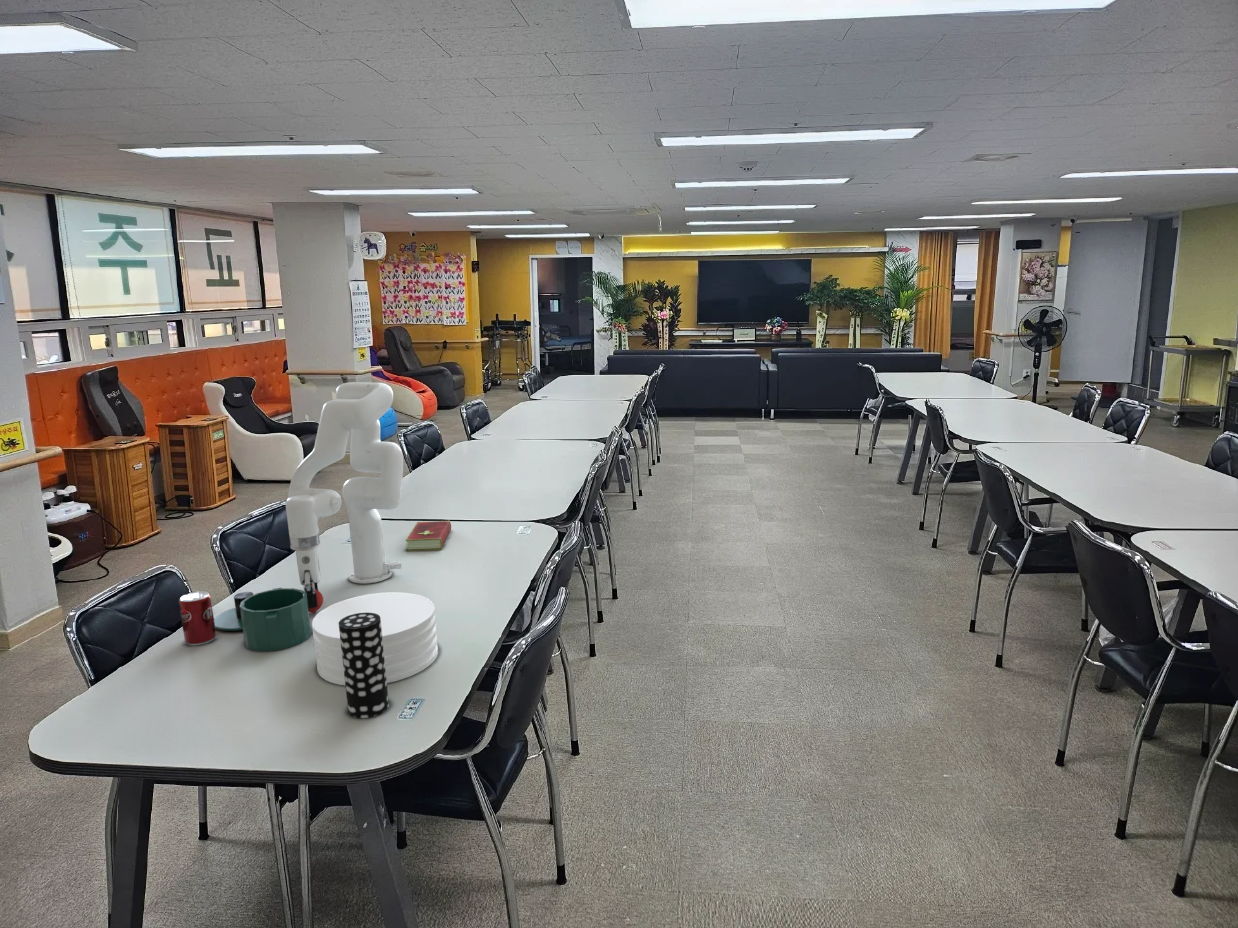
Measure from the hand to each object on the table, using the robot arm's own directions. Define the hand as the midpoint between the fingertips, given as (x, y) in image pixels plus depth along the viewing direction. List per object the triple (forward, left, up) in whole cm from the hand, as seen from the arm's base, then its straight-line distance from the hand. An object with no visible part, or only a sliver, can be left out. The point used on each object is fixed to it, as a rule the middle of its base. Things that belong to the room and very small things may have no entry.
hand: (311, 601), depth 226 cm
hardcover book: (-37, -54, -4) cm, 66 cm away
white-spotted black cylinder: (-13, +60, -4) cm, 61 cm away
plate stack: (-16, +36, -4) cm, 39 cm away
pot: (+8, +14, -4) cm, 17 cm away
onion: (0, 0, -4) cm, 4 cm away
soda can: (+27, +8, -4) cm, 28 cm away
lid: (+17, -2, -3) cm, 17 cm away
